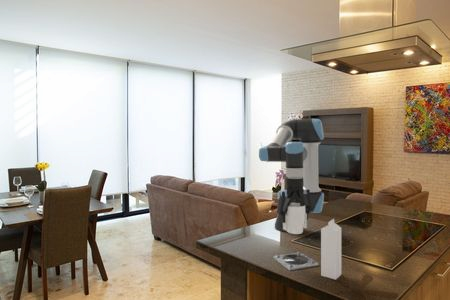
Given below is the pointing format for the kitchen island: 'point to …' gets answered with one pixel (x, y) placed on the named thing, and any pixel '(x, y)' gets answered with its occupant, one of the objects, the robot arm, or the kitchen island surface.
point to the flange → (295, 260)
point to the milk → (331, 250)
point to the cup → (295, 218)
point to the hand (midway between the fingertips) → (294, 228)
